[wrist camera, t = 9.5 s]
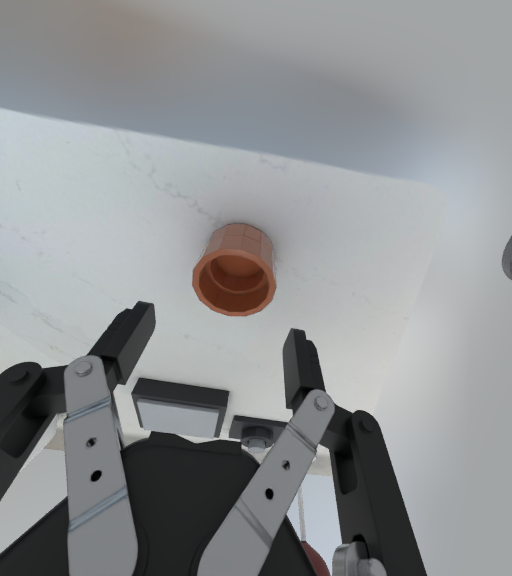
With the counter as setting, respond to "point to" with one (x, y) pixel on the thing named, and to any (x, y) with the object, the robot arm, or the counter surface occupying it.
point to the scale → (179, 408)
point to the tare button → (256, 446)
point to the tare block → (256, 430)
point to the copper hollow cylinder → (236, 271)
